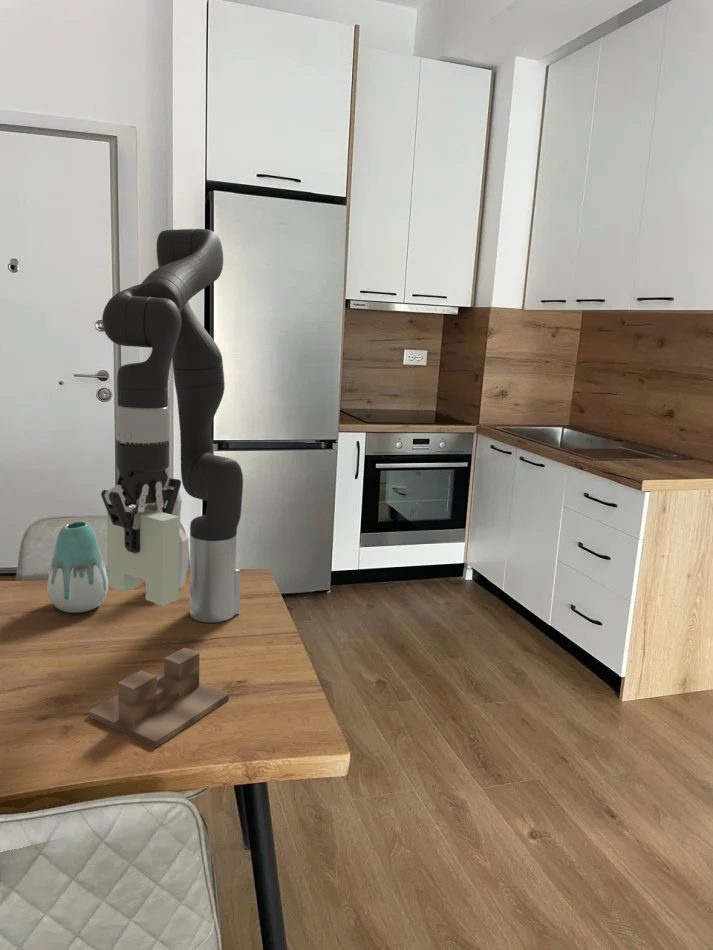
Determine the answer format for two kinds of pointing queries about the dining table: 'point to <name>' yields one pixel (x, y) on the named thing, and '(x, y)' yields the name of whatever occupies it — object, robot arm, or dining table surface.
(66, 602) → the vase
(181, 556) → the faceted bottle
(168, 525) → the upright sage green panel
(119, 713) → the slot plate
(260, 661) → the dining table surface
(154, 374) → the robot arm
